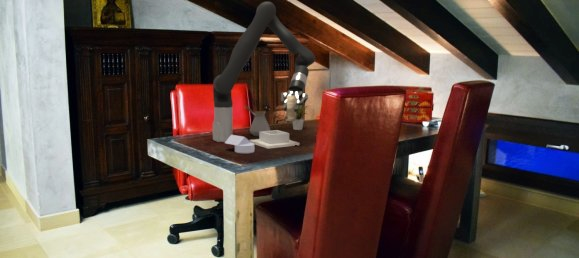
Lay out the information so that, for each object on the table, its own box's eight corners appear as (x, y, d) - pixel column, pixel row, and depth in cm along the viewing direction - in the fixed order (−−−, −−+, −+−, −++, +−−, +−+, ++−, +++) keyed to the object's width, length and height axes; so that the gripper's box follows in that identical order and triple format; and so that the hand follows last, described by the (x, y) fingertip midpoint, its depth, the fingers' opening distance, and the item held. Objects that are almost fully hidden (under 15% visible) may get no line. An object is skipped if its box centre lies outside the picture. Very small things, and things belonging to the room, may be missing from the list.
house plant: (310, 131, 284) (311, 103, 282) (286, 131, 285) (287, 102, 282) (310, 127, 298) (310, 100, 296) (287, 127, 299) (287, 100, 296)
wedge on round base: (224, 150, 229) (245, 154, 221) (224, 135, 228) (245, 139, 220) (237, 147, 236) (258, 151, 228) (237, 133, 235) (258, 136, 227)
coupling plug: (288, 121, 236) (288, 96, 234) (282, 120, 240) (283, 95, 238) (298, 120, 239) (299, 96, 238) (293, 119, 243) (294, 95, 241)
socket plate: (267, 148, 234) (267, 136, 233) (249, 142, 249) (249, 131, 248) (299, 145, 244) (299, 133, 243) (279, 139, 259) (279, 128, 258)
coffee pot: (274, 135, 269) (274, 108, 267) (256, 137, 263) (257, 109, 260) (253, 130, 286) (253, 104, 284) (236, 132, 279) (236, 105, 277)
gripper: (282, 78, 246) (274, 104, 236) (310, 79, 242) (303, 106, 232) (285, 88, 252) (277, 114, 242) (313, 89, 247) (305, 116, 238)
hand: (290, 110), depth 237 cm, fingers closed on coupling plug, 4 cm apart
